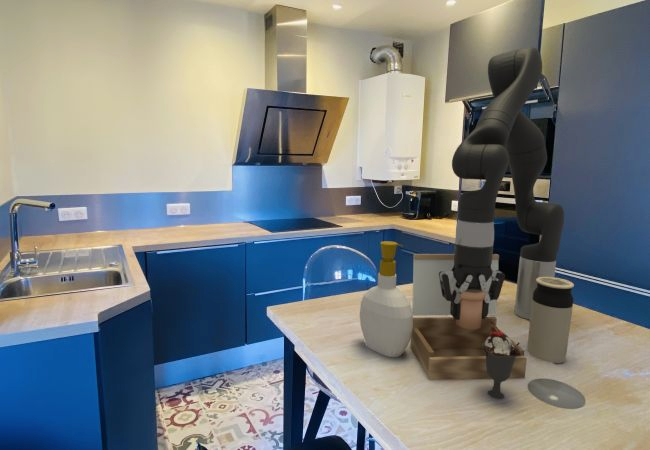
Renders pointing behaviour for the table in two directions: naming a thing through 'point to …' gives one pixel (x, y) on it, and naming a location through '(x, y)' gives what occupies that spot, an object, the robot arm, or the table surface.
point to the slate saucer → (556, 393)
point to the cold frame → (456, 349)
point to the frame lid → (438, 284)
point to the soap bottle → (386, 310)
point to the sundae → (499, 359)
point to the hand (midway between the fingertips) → (468, 317)
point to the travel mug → (550, 319)
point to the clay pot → (471, 308)
